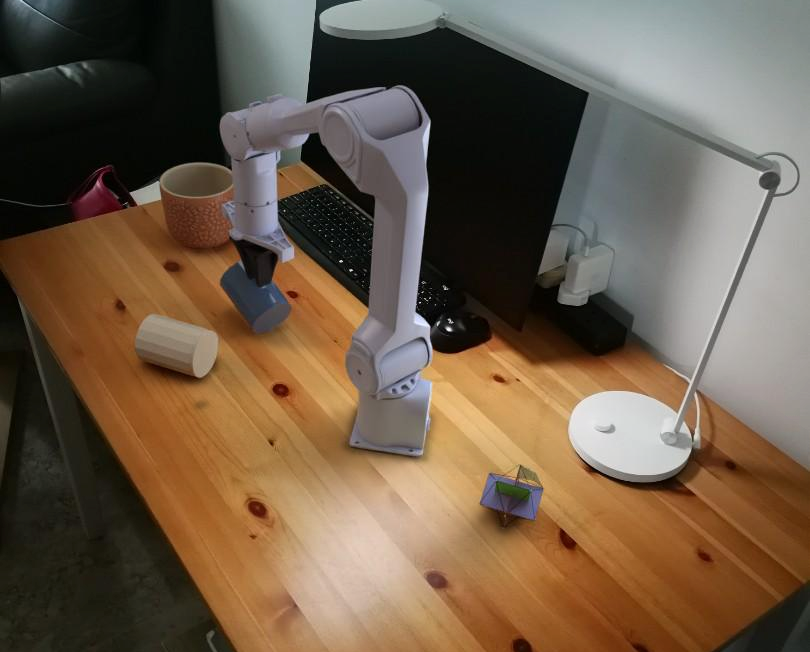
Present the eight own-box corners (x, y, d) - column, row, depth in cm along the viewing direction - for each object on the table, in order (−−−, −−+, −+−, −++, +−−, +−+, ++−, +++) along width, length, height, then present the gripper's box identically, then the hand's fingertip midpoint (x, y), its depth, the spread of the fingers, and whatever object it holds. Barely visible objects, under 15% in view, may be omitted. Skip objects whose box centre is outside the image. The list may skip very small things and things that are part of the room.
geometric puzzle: (529, 543, 96) (547, 476, 96) (471, 525, 98) (488, 459, 97) (533, 530, 103) (550, 468, 103) (479, 514, 105) (495, 452, 104)
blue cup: (299, 306, 126) (266, 262, 128) (275, 300, 120) (242, 254, 122) (268, 335, 128) (237, 291, 130) (244, 331, 121) (211, 285, 124)
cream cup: (221, 326, 118) (165, 309, 120) (195, 336, 112) (137, 319, 114) (215, 370, 120) (160, 353, 122) (190, 383, 114) (132, 365, 116)
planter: (256, 234, 146) (252, 177, 139) (206, 265, 138) (200, 206, 131) (202, 211, 151) (196, 154, 144) (151, 240, 143) (142, 181, 136)
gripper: (200, 181, 114) (208, 265, 123) (261, 229, 107) (265, 315, 116) (244, 168, 118) (249, 250, 127) (306, 212, 110) (306, 297, 119)
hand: (259, 280), depth 122 cm, fingers closed
